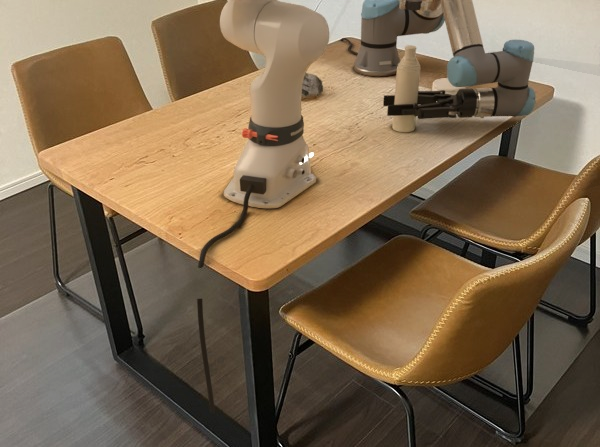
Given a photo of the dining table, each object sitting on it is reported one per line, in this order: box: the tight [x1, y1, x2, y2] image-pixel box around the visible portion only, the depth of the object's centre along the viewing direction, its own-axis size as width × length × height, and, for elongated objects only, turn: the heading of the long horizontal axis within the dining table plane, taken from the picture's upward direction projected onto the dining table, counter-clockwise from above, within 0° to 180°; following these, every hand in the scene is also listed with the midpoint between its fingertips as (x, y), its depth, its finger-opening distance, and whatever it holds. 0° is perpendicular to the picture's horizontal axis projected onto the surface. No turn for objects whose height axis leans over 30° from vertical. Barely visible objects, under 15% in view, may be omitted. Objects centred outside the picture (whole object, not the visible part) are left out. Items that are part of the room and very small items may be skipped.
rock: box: [301, 72, 324, 99], centre depth 187 cm, size 15×10×7 cm
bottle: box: [391, 44, 422, 133], centre depth 160 cm, size 6×6×22 cm
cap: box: [405, 0, 422, 10], centre depth 149 cm, size 4×4×2 cm
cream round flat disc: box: [431, 77, 467, 95], centre depth 185 cm, size 10×10×4 cm
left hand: (413, 9), depth 149 cm, fingers closed on cap, 4 cm apart
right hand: (385, 105), depth 162 cm, fingers closed on bottle, 6 cm apart
